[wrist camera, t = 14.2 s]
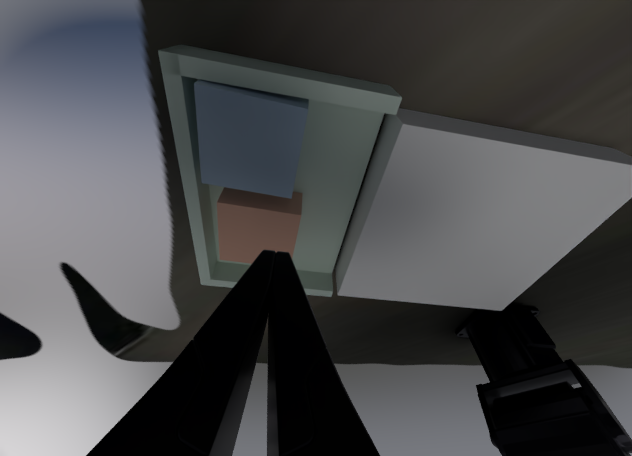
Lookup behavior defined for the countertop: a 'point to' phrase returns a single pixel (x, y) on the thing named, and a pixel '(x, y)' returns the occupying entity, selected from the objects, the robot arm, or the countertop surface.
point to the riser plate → (472, 210)
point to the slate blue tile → (249, 137)
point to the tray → (314, 161)
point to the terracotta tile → (256, 224)
